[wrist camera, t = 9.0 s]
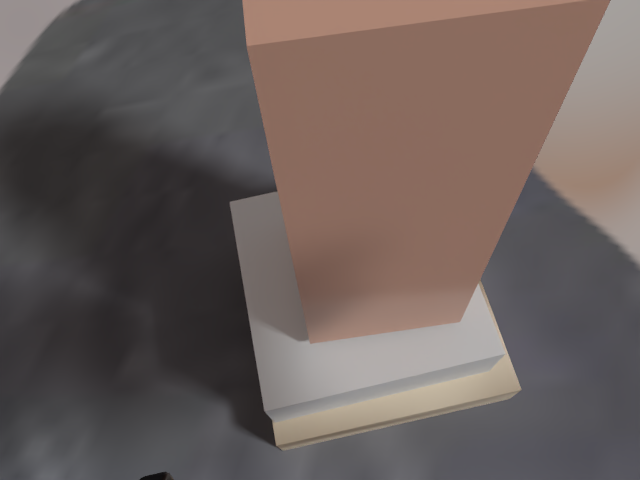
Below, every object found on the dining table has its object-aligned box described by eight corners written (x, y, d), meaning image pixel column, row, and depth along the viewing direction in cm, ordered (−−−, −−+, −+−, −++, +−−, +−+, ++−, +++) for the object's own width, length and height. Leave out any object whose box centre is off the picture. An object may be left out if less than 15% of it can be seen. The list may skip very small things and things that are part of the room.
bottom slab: (504, 402, 21) (521, 389, 19) (285, 452, 21) (276, 445, 19) (437, 211, 25) (444, 183, 23) (251, 252, 25) (241, 227, 23)
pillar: (460, 322, 18) (612, -3, 7) (309, 343, 18) (246, 46, 7) (425, 198, 20) (501, -174, 10) (293, 217, 20) (230, -139, 10)
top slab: (488, 371, 20) (505, 354, 17) (275, 422, 19) (264, 411, 17) (422, 191, 23) (429, 157, 21) (242, 231, 23) (229, 201, 21)
